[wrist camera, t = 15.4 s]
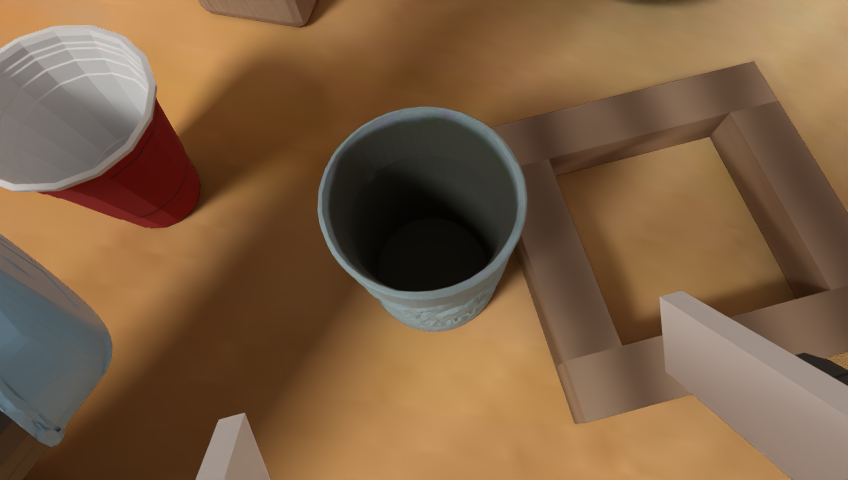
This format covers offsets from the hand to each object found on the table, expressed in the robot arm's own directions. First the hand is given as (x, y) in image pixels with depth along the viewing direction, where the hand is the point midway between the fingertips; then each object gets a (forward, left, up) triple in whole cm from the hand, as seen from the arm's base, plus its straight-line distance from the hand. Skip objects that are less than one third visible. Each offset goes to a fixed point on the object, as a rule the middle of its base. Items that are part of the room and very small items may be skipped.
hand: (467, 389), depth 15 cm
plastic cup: (-17, +21, -18) cm, 32 cm away
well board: (+17, +8, -17) cm, 25 cm away
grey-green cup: (+1, +10, -18) cm, 20 cm away
